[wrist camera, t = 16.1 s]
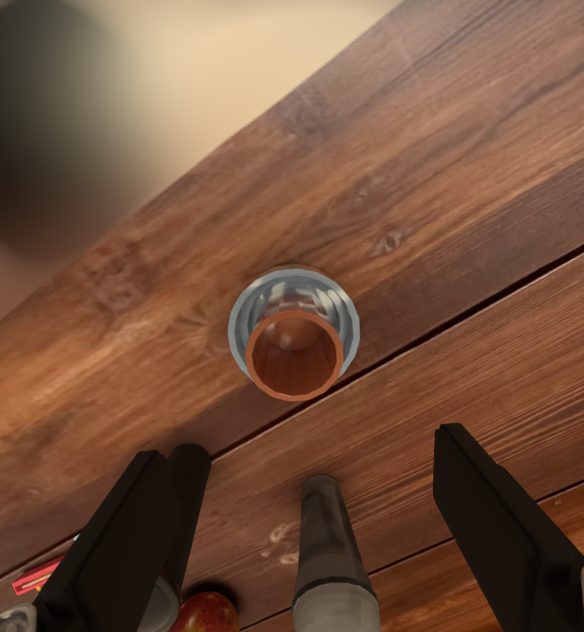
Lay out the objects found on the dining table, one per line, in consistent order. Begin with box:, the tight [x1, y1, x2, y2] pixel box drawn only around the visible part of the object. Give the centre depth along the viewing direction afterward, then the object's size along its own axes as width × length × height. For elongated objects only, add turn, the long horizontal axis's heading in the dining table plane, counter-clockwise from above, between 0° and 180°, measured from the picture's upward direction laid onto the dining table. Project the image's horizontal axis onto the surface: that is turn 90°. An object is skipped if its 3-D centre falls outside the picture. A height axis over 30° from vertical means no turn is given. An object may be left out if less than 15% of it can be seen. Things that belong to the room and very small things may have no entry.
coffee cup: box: [245, 288, 344, 402], centre depth 24 cm, size 7×7×9 cm
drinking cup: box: [137, 444, 211, 632], centre depth 24 cm, size 8×8×20 cm
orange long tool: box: [12, 534, 80, 595], centre depth 36 cm, size 24×2×5 cm
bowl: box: [227, 264, 360, 380], centre depth 26 cm, size 11×11×5 cm
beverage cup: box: [292, 475, 380, 632], centre depth 25 cm, size 7×7×20 cm
